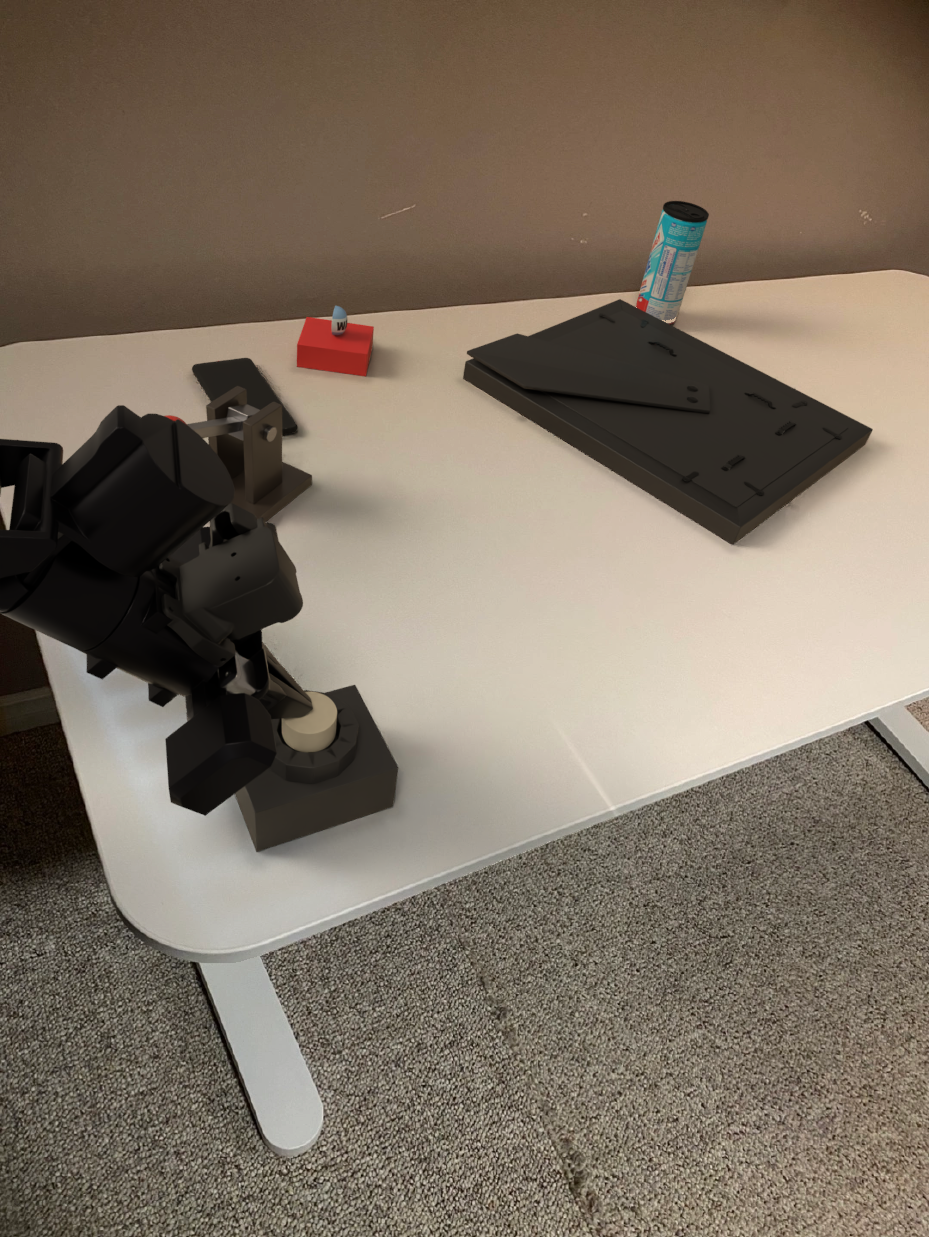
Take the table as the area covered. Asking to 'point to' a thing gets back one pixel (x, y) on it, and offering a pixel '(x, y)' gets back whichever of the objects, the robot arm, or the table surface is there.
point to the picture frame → (669, 414)
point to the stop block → (321, 779)
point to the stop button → (312, 726)
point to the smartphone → (240, 385)
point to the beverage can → (671, 259)
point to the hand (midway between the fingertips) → (307, 708)
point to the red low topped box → (335, 345)
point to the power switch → (223, 423)
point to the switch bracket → (257, 458)
